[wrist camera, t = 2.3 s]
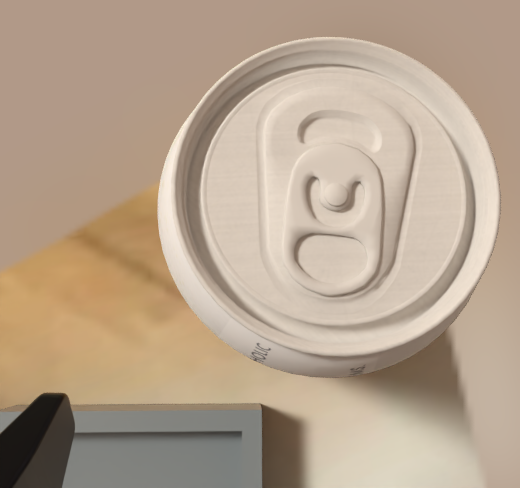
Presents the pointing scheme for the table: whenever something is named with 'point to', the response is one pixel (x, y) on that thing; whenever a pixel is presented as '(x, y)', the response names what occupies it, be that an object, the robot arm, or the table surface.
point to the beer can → (329, 207)
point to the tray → (162, 445)
